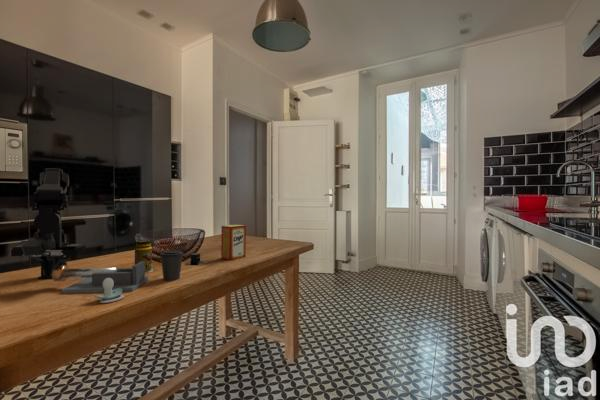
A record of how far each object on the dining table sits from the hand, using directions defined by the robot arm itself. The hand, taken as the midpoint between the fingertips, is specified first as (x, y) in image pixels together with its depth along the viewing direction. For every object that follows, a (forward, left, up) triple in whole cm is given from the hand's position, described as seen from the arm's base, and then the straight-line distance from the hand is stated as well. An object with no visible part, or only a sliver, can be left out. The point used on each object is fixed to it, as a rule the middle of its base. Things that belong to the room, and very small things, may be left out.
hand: (49, 276), depth 94 cm
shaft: (+11, 0, -2) cm, 11 cm away
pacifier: (+24, -13, -4) cm, 28 cm away
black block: (+38, +32, -4) cm, 50 cm away
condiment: (+20, +19, -4) cm, 28 cm away
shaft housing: (+17, 0, -4) cm, 18 cm away
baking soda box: (+54, +41, -4) cm, 68 cm away
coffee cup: (+35, +7, -4) cm, 36 cm away
